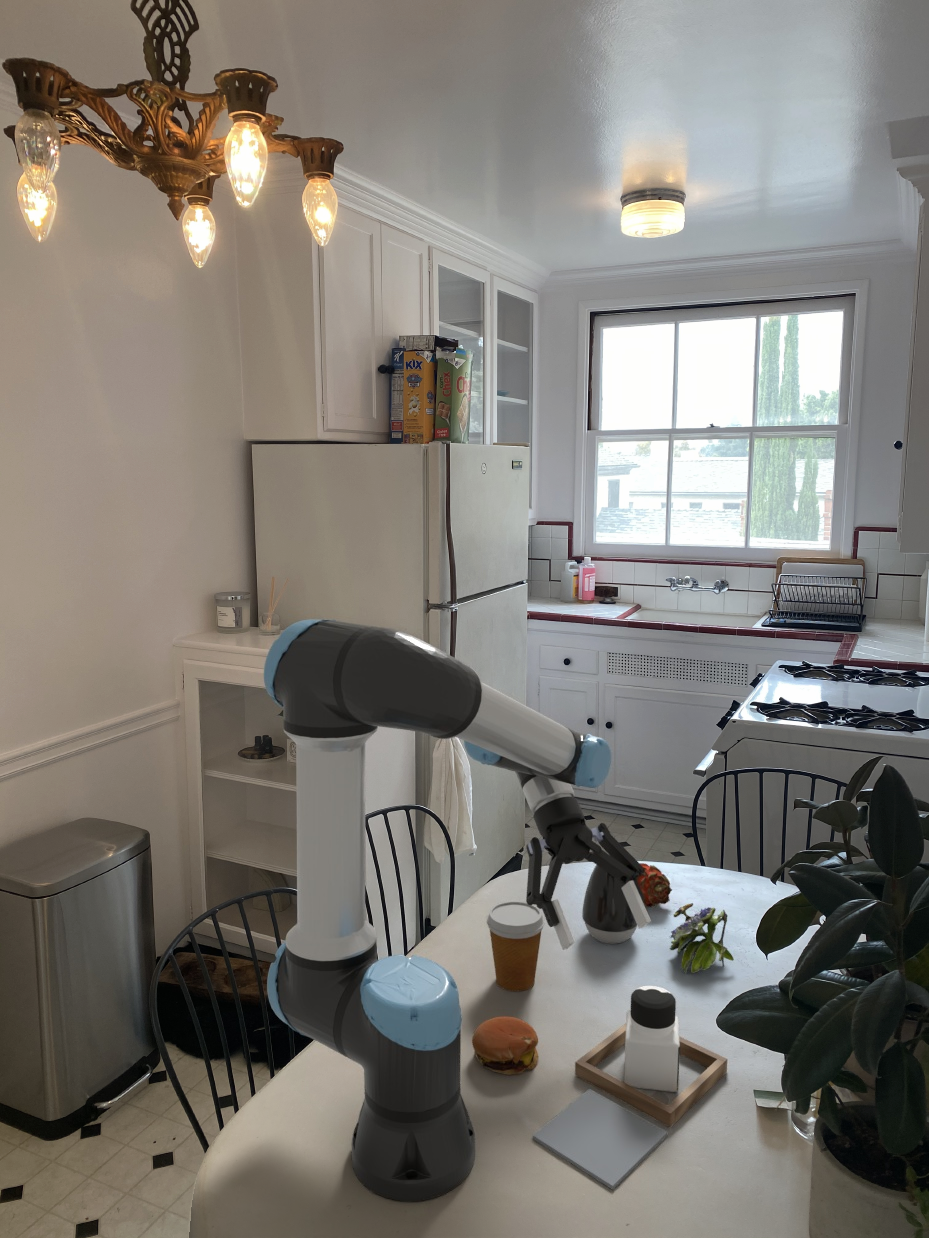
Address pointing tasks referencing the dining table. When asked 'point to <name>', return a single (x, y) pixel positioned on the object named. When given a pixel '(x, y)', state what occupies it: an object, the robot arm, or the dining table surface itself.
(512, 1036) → the burger
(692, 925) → the passion flower
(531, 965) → the disposable coffee cup
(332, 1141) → the dining table surface
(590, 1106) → the slate mat
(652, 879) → the dragon fruit
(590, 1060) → the walnut caddy
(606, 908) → the grey egg-shaped container
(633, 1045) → the medicine bottle
